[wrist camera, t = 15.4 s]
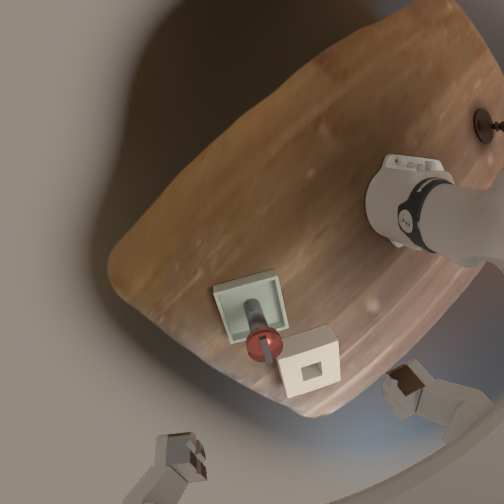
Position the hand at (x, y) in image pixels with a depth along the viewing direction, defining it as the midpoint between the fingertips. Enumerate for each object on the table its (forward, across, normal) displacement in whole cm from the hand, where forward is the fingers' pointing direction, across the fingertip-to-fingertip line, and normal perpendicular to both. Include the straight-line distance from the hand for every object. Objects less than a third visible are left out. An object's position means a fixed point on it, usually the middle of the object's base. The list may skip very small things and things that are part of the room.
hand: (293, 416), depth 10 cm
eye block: (+39, -8, +33) cm, 52 cm away
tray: (+39, 0, +17) cm, 43 cm away
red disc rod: (+38, 0, +17) cm, 42 cm away
